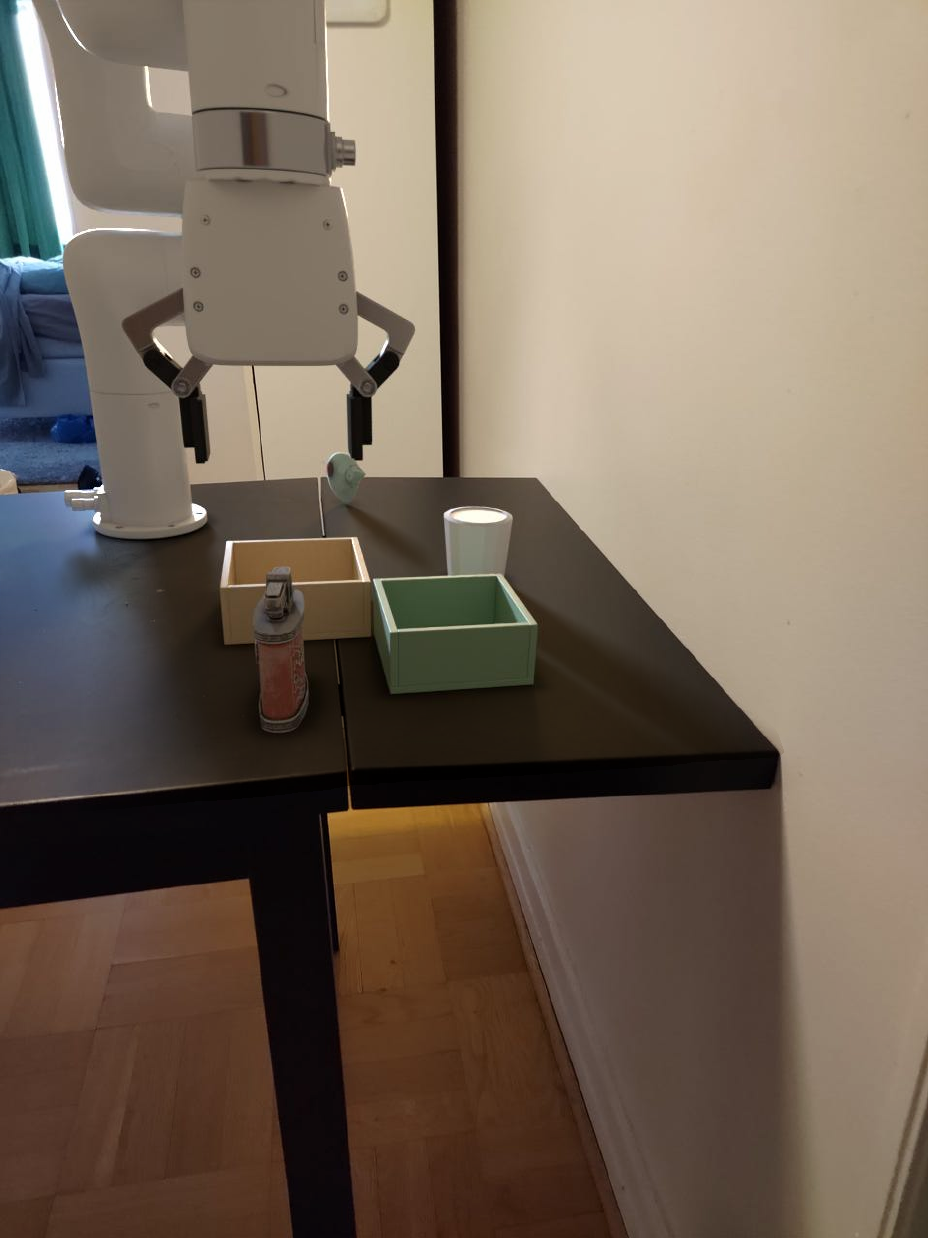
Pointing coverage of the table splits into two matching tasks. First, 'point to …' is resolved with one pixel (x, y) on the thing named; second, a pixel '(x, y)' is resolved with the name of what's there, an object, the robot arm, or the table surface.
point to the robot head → (344, 476)
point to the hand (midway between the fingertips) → (280, 457)
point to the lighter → (281, 653)
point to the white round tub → (477, 540)
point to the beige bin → (298, 585)
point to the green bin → (453, 633)
